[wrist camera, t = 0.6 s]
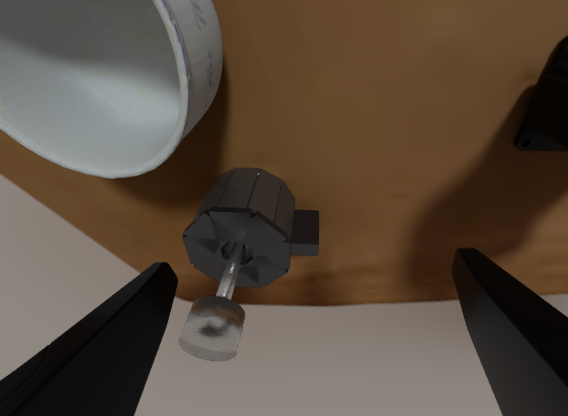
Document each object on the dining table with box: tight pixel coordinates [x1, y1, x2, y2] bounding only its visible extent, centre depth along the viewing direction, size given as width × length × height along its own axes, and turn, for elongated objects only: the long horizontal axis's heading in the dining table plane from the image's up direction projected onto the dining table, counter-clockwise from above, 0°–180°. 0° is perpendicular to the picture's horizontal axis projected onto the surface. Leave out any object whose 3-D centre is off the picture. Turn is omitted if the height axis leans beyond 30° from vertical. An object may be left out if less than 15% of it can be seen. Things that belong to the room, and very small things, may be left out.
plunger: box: [179, 242, 253, 361], centre depth 18 cm, size 5×5×8 cm
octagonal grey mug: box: [182, 168, 319, 288], centre depth 22 cm, size 9×7×6 cm
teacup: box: [0, 0, 223, 179], centre depth 13 cm, size 14×11×8 cm
